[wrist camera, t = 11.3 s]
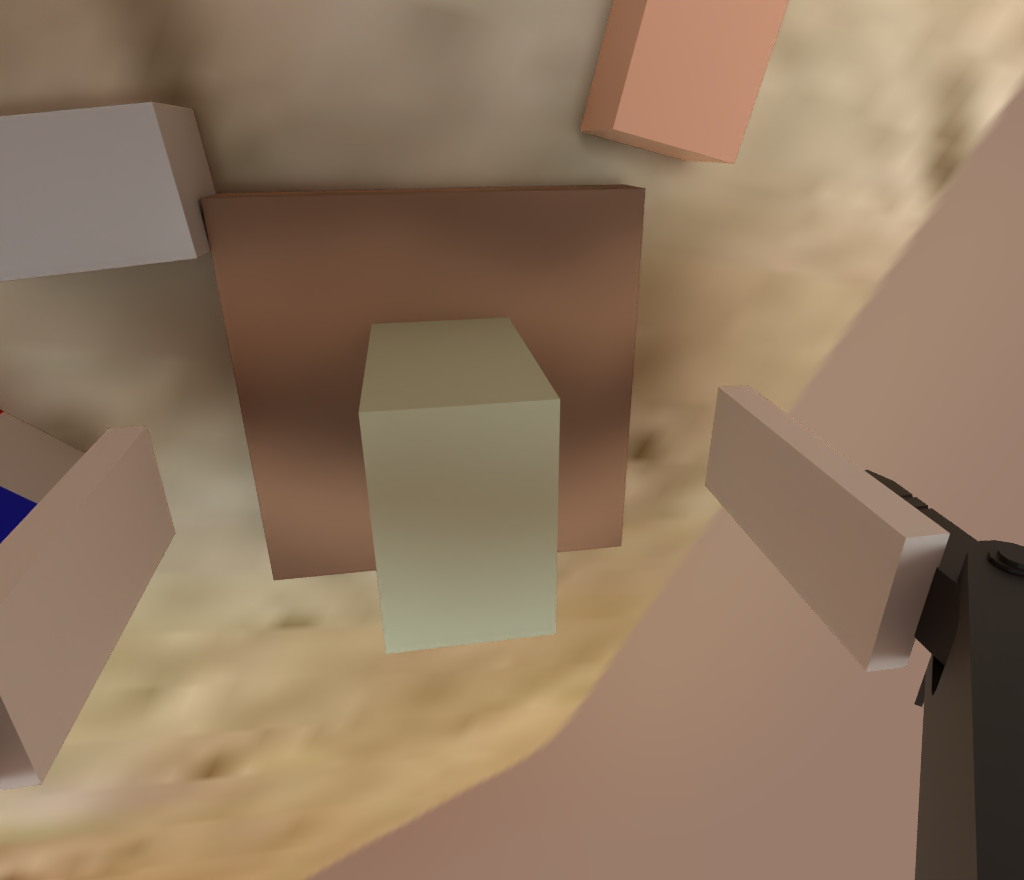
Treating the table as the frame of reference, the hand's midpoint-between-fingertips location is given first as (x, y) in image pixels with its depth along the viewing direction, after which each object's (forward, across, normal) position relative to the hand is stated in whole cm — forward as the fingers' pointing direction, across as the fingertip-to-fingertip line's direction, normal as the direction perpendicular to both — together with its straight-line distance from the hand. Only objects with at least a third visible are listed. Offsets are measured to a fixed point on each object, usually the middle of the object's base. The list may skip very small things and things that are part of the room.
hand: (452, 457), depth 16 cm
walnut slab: (+7, 0, -1) cm, 7 cm away
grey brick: (+8, -9, +6) cm, 13 cm away
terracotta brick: (+8, +7, +9) cm, 14 cm away
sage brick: (+5, 0, -1) cm, 5 cm away
